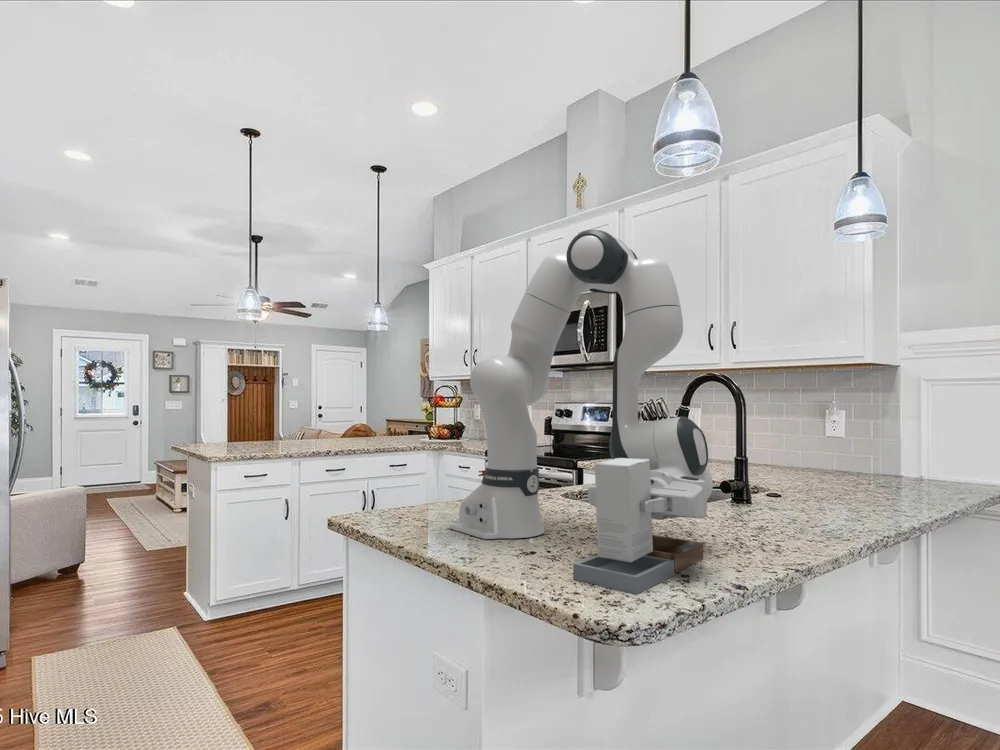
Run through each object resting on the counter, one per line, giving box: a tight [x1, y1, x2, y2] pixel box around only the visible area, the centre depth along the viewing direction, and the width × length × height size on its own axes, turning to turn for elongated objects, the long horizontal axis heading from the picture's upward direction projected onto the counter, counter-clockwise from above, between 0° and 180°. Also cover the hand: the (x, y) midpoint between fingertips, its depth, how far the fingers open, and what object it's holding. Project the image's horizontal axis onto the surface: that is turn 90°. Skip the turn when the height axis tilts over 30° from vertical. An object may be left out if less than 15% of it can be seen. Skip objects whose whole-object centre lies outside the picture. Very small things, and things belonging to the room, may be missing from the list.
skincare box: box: [594, 458, 653, 562], centre depth 99 cm, size 8×7×16 cm
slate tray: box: [572, 554, 675, 595], centre depth 99 cm, size 12×13×2 cm
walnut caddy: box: [646, 534, 704, 574], centre depth 109 cm, size 11×12×4 cm
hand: (621, 504), depth 99 cm, fingers closed on skincare box, 6 cm apart
